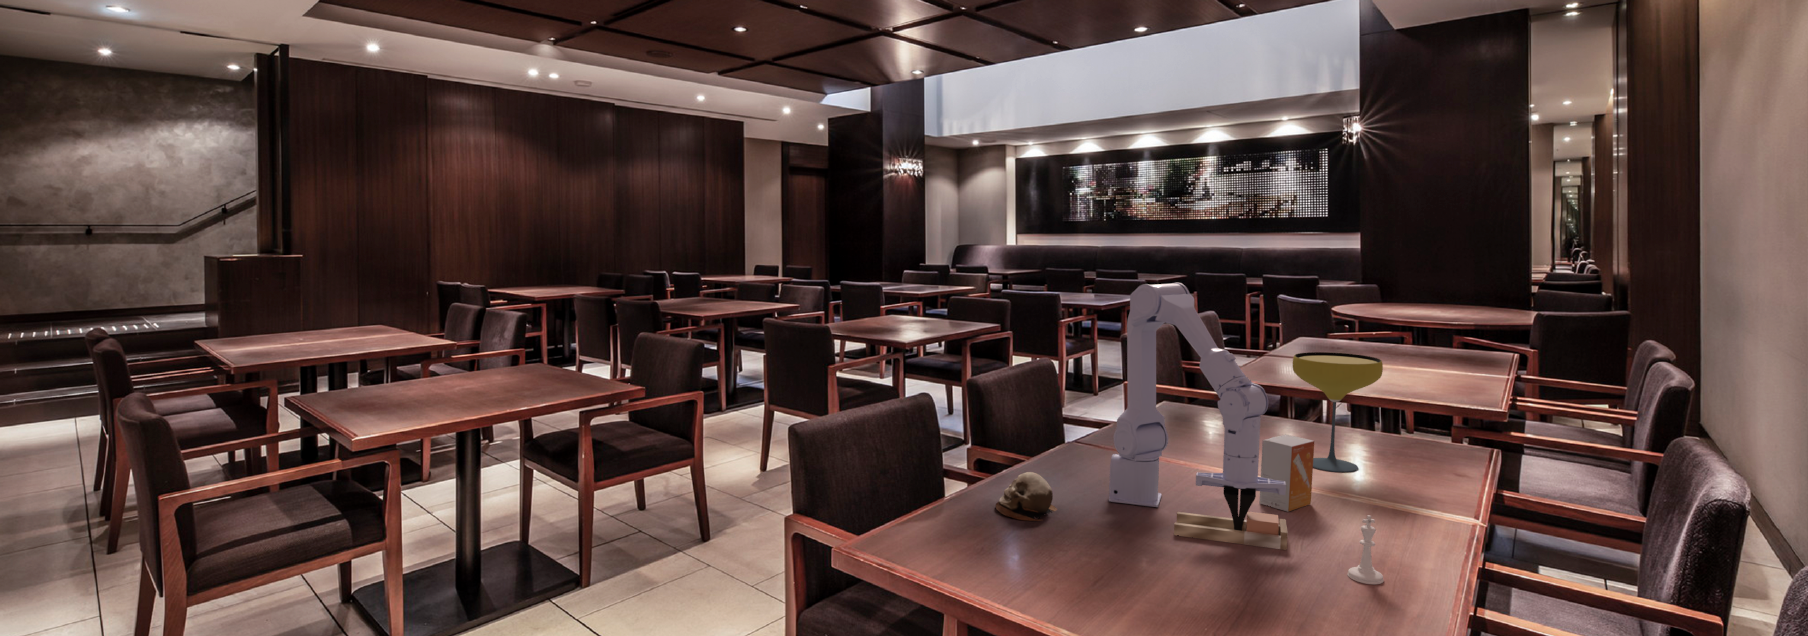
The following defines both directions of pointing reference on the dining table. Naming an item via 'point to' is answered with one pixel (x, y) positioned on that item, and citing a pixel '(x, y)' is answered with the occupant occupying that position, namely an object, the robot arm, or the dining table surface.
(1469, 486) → the dining table surface
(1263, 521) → the block
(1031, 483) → the skull
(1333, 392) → the cocktail glass
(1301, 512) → the dining table surface
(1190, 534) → the chute
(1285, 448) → the small box
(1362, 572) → the chess piece
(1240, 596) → the dining table surface
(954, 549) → the dining table surface
